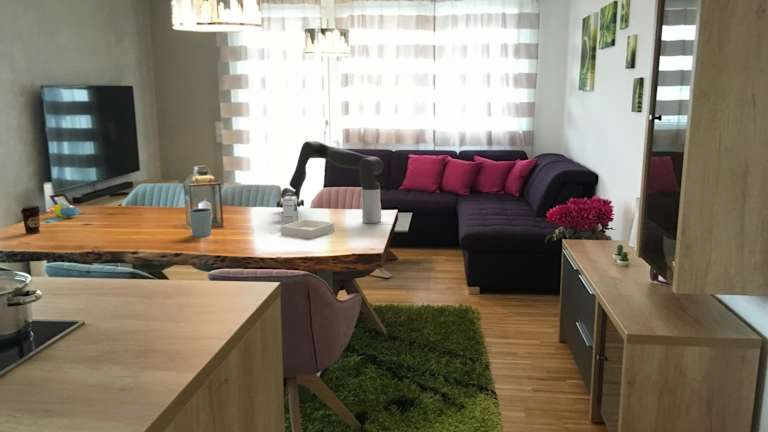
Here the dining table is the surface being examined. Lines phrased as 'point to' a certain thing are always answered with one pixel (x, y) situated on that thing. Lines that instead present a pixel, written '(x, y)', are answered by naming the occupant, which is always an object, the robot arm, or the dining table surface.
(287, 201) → the syrup box
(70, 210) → the blue yellow toy
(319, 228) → the tray
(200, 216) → the grey tapered cup
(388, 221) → the dining table surface
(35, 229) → the coffee cup
